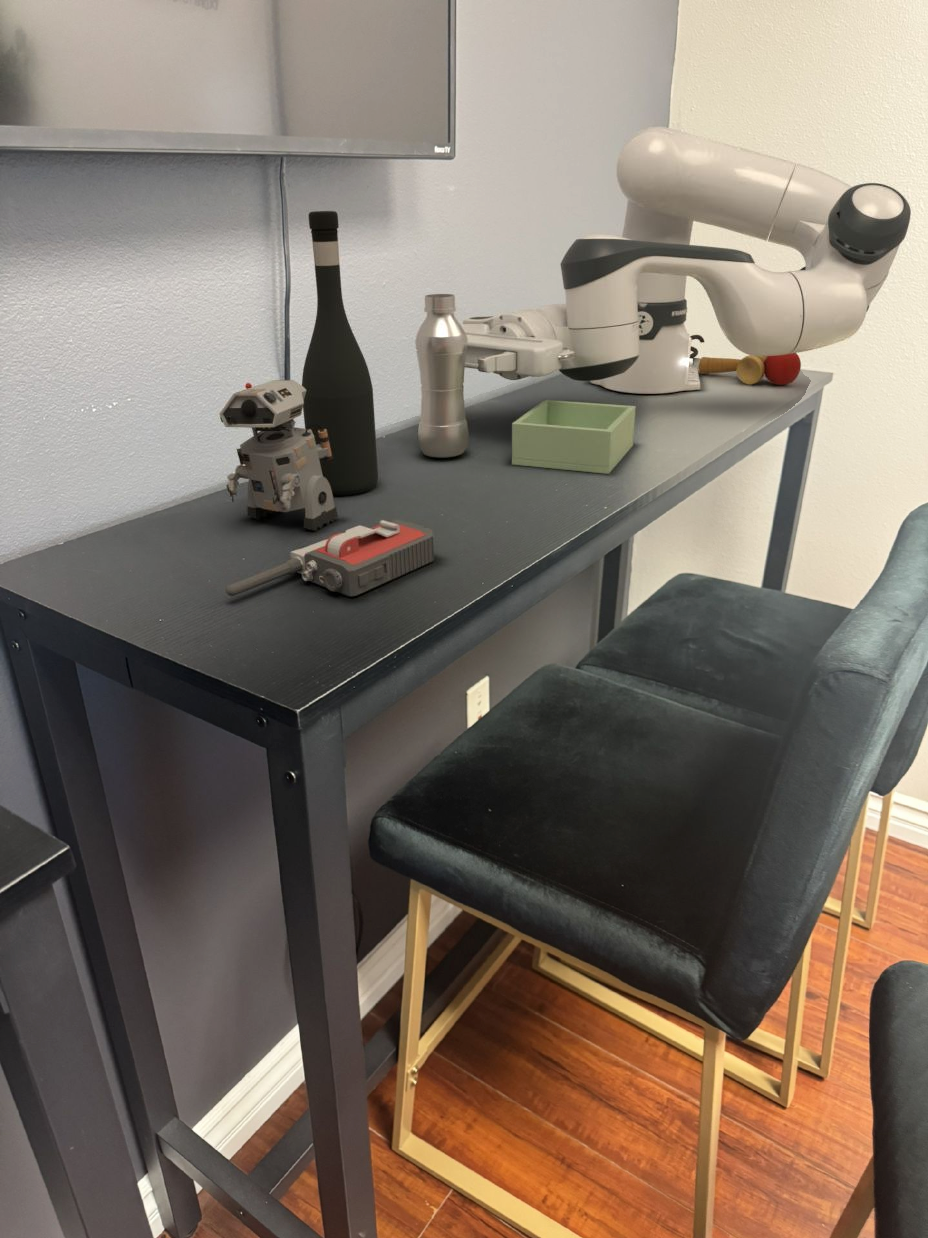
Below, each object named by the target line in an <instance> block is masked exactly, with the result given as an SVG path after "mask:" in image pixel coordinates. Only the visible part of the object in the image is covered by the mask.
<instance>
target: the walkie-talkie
mask: <svg viewBox="0 0 928 1238" xmlns="http://www.w3.org/2000/svg"><path fill="white" fill-rule="evenodd" d="M434 548H435V547H434V531H433V530H432V529H431V528H429V527H426V526H423V525H420V524H416V523H413V522H409V521H406V520H402V519H399V518H395V519H393V520H390V521H387V520H384V519H381V520H380V521H379V524H377V525H374V526H373V527H367V526H363V525H362V524H361V525H360V524H359V525H357V526H354V527H351V528H348V529H346V530H344V532H341V531H340V532H338V533H336V534H333V535H331V536H330V537H328V538H327V539H326V538H325V539H323V540H320V541H318V542H315V543H312V544H310V545H307V546H304V547H303V548H299V549H298V548H297V549H295V550H292V551H290V559H288V560H285V561H284V562H283V564H280V565H277V566H274V567H272V568H270V569H267V570H264V571H261V572H259V573H257V574H256V573H255V574H254V575H252V576H251V575H250V576H249V577H245V578H244V579H243V578H242V579H241V580H238V581H236V582H233V583H231V584H228V585H227V586H226V588H225V592H226V595H228V596H230V597H234V596H238V595H239V594H242V593H245V592H248V591H250V590H253V589H255V588H257V587H260V586H262V585H264V584H267V583H270V582H272V581H275V580H277V579H279V578H282V577H285V576H287V575H293V574H296V573H298V574H301V578H302V579H303V581H305V582H308V581H309V582H311V583H313V584H315V585H318V586H320V587H323V588H326V589H327V590H329V591H330V592H334V593H335V592H336V593H338V594H341V595H344V596H347V597H349V598H351V597H352V598H353V597H357V596H359V595H362V594H364V593H366V592H368V591H370V590H372V589H374V588H376V587H379V586H382V585H383V584H385V583H388V582H390V581H392V580H395V579H397V578H399V577H401V576H404V575H406V574H408V573H410V572H412V571H414V570H416V569H419V568H421V567H424V566H426V565H427V564H430V563H432V562H433V561H435V549H434Z"/></svg>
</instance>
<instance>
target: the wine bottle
mask: <svg viewBox="0 0 928 1238" xmlns="http://www.w3.org/2000/svg"><path fill="white" fill-rule="evenodd" d="M308 226H309V230H311V231H310V233H311V242H312V250H313V260H314V261H313V262H314V273H315V284H316V285H315V286H316V298H317V301H316V316H315V322H314V327H313V331H312V336H311V338H310V342H309V345H308V349H307V353H306V356H305V360H304V364H303V369H302V376H301V386H303V387H304V388H305V389H306V394H305V397H304V404H303V409H302V413H303V421H304V429H307V427H308V426H309V425H311V424H318V425H320V426H321V427H322V429H326V430H327V434H328V437H329V444H330V449H331V454H332V455H333V459H331V460H328V461H325V460H323V458H319V461H320V465H321V470H322V475H323V477H325V478H326V479H327V480H328V482H329V484H330V487H331V490H332V494H333V496H352V495H358V494H361V493H364V492H368V491H369V490H371V489H372V488H373V487H375V486H376V484H377V482H378V478H379V465H378V464H379V463H378V449H377V434H376V419H375V418H376V417H375V403H374V401H375V400H374V390H373V383H372V378H371V374H370V370H369V367H368V363H367V362H366V359H365V356H364V354H363V352H362V350H361V347H360V345H359V343H358V341H357V339H356V336H355V334H354V332H353V329H352V327H351V325H350V322H349V320H348V316H347V313H346V310H345V305H344V299H343V291H342V280H341V279H342V277H341V266H340V265H341V264H340V263H341V262H340V249H339V248H340V247H339V235H338V233H339V230H338V229H339V215H338V212H337V211H334V210H315V211H314V210H313V211H310V212H309V213H308ZM309 429H311V430H312V433H313V435H314V438H315V442H316V445H318V444H320V441H319V435H318V430H320V427H319V426H316V425H314V426H311V427H310V428H309ZM320 445H321V444H320Z"/></svg>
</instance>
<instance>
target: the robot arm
mask: <svg viewBox="0 0 928 1238" xmlns="http://www.w3.org/2000/svg"><path fill="white" fill-rule="evenodd" d="M616 178H617V183H618V186H619V189H620V191H621V193H622V194H623V196H624V197H625V198H626V199H627V204H626V211H625V216H624V217H625V218H624V224H623V228H622V235H621V236H620V235H616V234H610V233H592V234H589V235H585V236H583V237H581V238H577V239H576V240H574V242H573V243H572V244H571V245H570V247H569V248H568V249H567V251H566V252H565V254H564V256H563V257H562V260H561V262H560V264H559V265H560V270H561V271H560V272H561V275H562V276H561V278H562V285H563V290H564V293H565V303H556V304H555V303H554V304H548V305H542V306H539V307H537V308H536V309H535V308H534V309H532V308H530V309H528V308H527V309H523V310H519V311H518V310H517V311H512V312H506V313H501V314H497V315H494V316H491V315H490V316H471V317H466V318H463V320H462V323H460V324H461V326H462V327H463V329H464V330H465V332H466V336H467V339H468V344H467V354H466V361H465V369H466V368H468V369H475V370H477V371H478V372H481V373H486V374H489V373H493V374H495V375H499V376H500V377H501V378H503V379H505V380H509V381H519V380H523V379H525V378H529V377H531V378H540V377H545V376H548V375H551V374H553V373H556V372H557V371H559V372H560V373H561V374H562V375H564V376H566V377H568V378H569V379H570V380H573V381H578V382H589V383H590V384H594V385H597V386H601V387H603V388H605V389H608V390H610V391H614V392H615V391H616V392H620V393H627V394H641V395H642V394H643V395H645V394H646V395H647V394H648V395H649V394H651V395H653V394H654V395H655V394H670V393H677V392H683V391H696V390H701V380H700V376H699V369H698V368H697V367H695V366H694V362H695V360H694V358H696V357H697V356H698V355H699V350H698V349H697V348H696V347H695V346H692V341H693V340H697V341H699V343H701V344H702V343H703V344H704V343H705V339H704V337H703V336H702V335H700V334H693V335H692V334H691V335H690V333H689V332H688V331H687V328H686V324H685V322H687V313H688V305H687V304H688V301H687V299H686V287H687V278H688V277H690V278H692V279H694V280H696V281H697V282H699V284H700V285H701V286H702V288H703V289H704V291H705V293H706V295H707V297H708V299H709V302H710V303H711V306H712V309H713V311H714V314H715V316H716V317H715V318H716V320H717V323H718V325H719V327H720V330H721V331H722V332H723V334H724V336H725V337H726V339H727V340H728V342H729V343H731V344H732V346H733V347H735V348H736V349H737V350H738V351H740V352H742V353H743V354H745V355H747V356H749V355H751V356H776V355H785V354H792V353H796V354H798V353H799V354H800V353H804V352H808V351H813V350H817V349H821V348H825V347H828V346H831V345H834V344H837V343H840V342H843V341H845V340H848V339H850V338H851V337H853V336H854V335H855V334H856V333H858V331H859V330H860V328H861V327H862V325H863V323H864V321H865V318H866V315H867V313H868V310H870V309H869V308H870V305H871V303H872V302H873V300H874V299H876V296H877V295H878V293H879V291H881V288H882V287H883V285H884V283H885V281H886V279H887V278H888V276H889V274H890V269H891V267H892V265H893V263H894V260H895V258H896V255H897V254H898V250H899V248H900V245H901V244H902V242H903V241H904V240H905V238H906V236H907V233H908V230H909V227H910V221H911V213H912V211H911V206H910V203H909V202H908V200H907V199H906V197H905V196H904V195H902V193H901V192H899V191H898V190H897V189H895V188H893V187H891V186H889V185H887V184H884V183H878V182H867V183H860V184H856V185H854V186H851V185H849V184H848V183H846V182H844V181H842V180H840V179H839V178H836V177H834V176H832V175H830V174H827V173H825V172H822V171H821V170H818V169H815V168H813V167H810V166H806V165H803V164H800V163H796V162H793V161H789V160H786V159H782V158H779V157H776V156H771V155H768V154H765V153H760V152H757V151H753V150H749V149H746V148H744V147H743V148H742V147H738V146H735V145H731V144H727V143H725V142H720V141H717V140H714V139H710V138H706V137H702V136H698V135H696V134H695V135H694V134H691V133H688V132H684V131H681V130H678V129H674V128H670V127H667V126H666V127H665V126H659V125H658V126H650V127H646V128H644V129H641V130H639V131H637V132H636V133H635V134H634V135H632V136H631V137H630V138H629V139H628V141H627V142H625V144H624V146H623V148H622V149H621V151H620V153H619V156H618V159H617V163H616ZM694 222H697V223H701V224H706V225H710V226H714V227H717V228H720V229H724V230H728V231H732V232H735V233H738V234H742V235H745V236H748V237H751V238H755V239H758V240H762V241H765V242H768V243H772V244H776V245H781V246H784V247H788V248H790V249H793V250H795V251H798V252H799V253H800V254H801V256H802V257H803V260H804V263H805V265H804V266H803V267H801V268H800V269H799V270H789V271H771V270H767V269H765V268H763V267H761V266H759V265H758V264H756V262H755V260H754V258H753V257H752V255H751V253H748V252H745V251H743V250H739V249H734V248H727V247H719V246H708V245H707V246H706V245H697V244H696V245H695V244H690V243H691V238H692V232H693V226H694ZM691 352H692V353H691Z"/></svg>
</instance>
